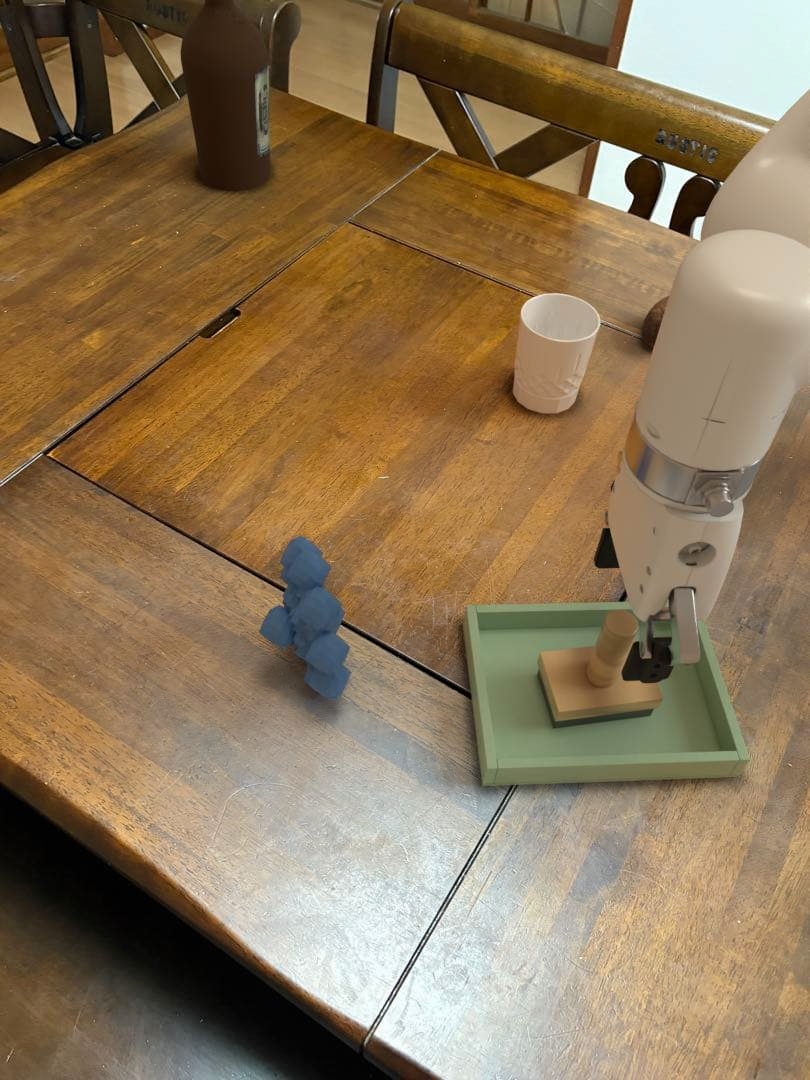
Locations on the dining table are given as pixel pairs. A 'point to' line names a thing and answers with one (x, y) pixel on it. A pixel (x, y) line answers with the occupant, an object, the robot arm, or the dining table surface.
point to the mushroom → (654, 322)
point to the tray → (599, 748)
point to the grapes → (310, 619)
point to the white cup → (553, 351)
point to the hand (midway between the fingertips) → (628, 618)
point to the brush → (596, 679)
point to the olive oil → (228, 96)
